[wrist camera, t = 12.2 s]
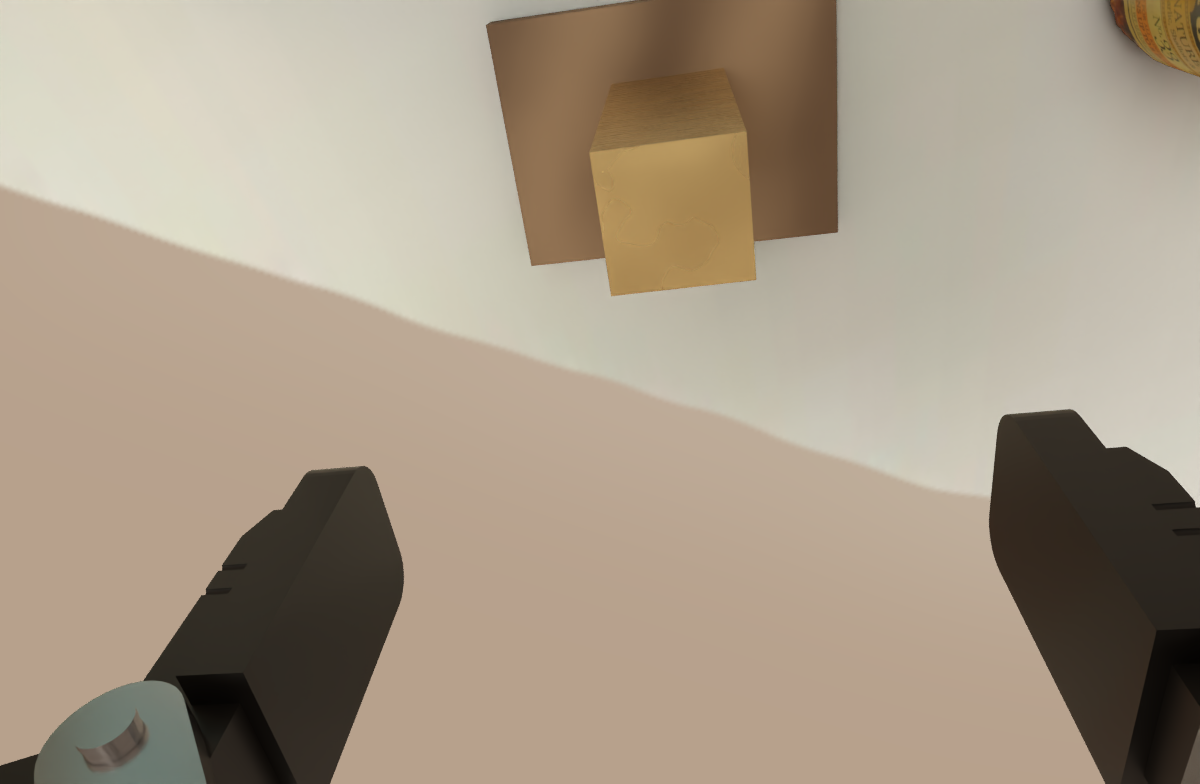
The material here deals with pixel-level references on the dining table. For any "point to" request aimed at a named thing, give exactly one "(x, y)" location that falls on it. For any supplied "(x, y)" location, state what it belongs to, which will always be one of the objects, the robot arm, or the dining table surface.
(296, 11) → the dining table surface
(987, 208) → the dining table surface
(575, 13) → the walnut board
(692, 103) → the brass peg
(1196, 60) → the sauce bottle
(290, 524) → the robot arm
